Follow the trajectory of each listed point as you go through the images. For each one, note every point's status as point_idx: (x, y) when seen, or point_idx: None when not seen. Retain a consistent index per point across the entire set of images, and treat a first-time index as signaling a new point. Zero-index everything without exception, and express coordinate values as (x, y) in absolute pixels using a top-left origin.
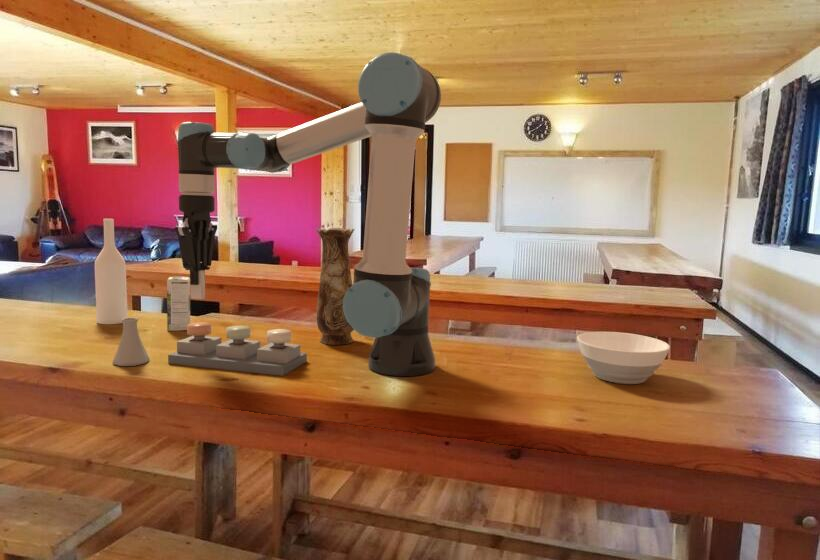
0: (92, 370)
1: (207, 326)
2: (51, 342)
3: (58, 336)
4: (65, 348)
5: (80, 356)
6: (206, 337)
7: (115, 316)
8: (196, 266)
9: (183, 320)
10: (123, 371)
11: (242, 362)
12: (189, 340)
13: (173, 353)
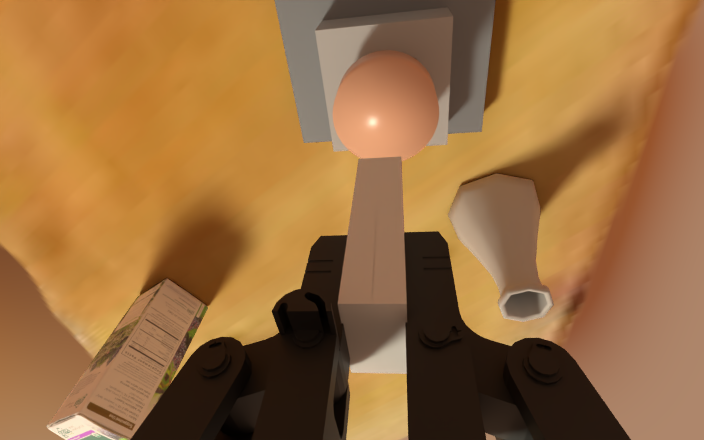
0: (582, 237)
1: (395, 61)
2: (399, 393)
3: (359, 404)
4: None
5: (472, 316)
6: None
7: None
8: (472, 361)
9: (165, 305)
10: (583, 173)
11: None
12: None
13: (461, 126)
